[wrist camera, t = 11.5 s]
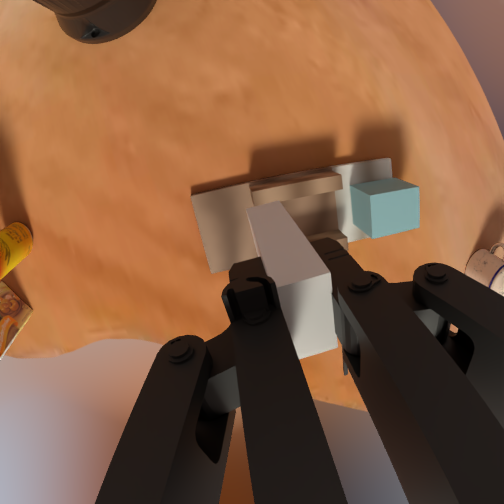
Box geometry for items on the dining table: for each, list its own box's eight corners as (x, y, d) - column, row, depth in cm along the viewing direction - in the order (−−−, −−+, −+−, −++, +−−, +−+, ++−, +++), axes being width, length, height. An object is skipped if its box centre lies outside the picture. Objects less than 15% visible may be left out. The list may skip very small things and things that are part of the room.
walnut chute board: (211, 270, 47) (211, 285, 43) (190, 194, 42) (188, 202, 38) (391, 229, 48) (405, 238, 43) (387, 157, 43) (403, 161, 39)
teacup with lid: (481, 285, 56) (512, 310, 46) (457, 284, 55) (491, 312, 44) (497, 236, 52) (533, 258, 41) (475, 232, 50) (514, 254, 40)
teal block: (353, 223, 45) (372, 239, 39) (349, 185, 42) (369, 195, 37) (396, 214, 45) (419, 227, 39) (395, 177, 43) (419, 186, 37)
